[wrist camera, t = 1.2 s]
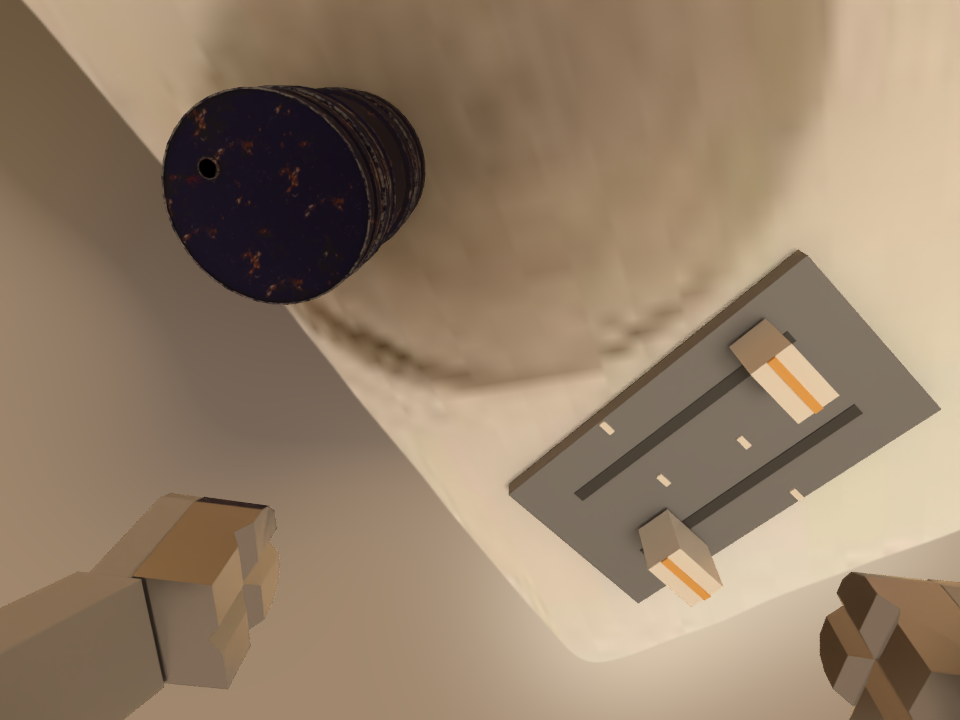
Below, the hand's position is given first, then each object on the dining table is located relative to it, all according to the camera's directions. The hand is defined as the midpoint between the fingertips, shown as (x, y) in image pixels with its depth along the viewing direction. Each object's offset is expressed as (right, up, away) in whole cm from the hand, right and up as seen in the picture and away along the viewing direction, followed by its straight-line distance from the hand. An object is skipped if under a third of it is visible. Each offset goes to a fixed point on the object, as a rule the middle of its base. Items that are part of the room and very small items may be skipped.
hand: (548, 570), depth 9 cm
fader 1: (+15, -12, +40) cm, 44 cm away
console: (+17, -4, +38) cm, 42 cm away
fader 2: (+19, +3, +33) cm, 38 cm away
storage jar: (-9, +16, +32) cm, 37 cm away
